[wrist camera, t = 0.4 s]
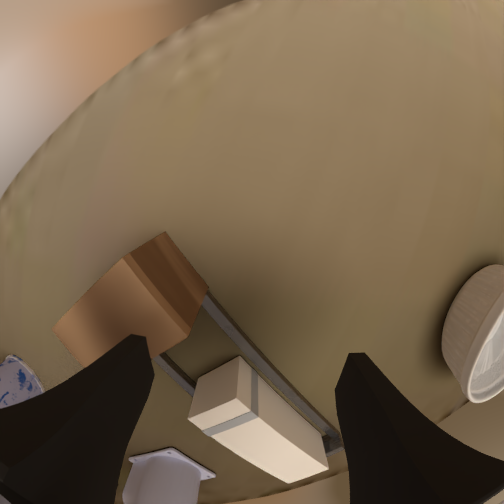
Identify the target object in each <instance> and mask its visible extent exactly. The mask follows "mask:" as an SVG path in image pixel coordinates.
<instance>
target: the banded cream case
mask: <svg viewBox="0 0 504 504" xmlns="http://www.w3.org/2000/svg"><path fill="white" fill-rule="evenodd" d="M188 420H190V421H191V422H192V423H193V424H195V425H196V426H197V427H199V428H200V429H201V430H202V432H203V433H205V434H206V435H207V436H211V437H212V438H214V439H215V440H217V441H218V442H219V443H221V444H222V445H224V446H225V447H227V448H228V449H230V450H231V451H233V452H234V453H236V454H237V455H239V456H241V457H242V458H244V459H245V460H247V461H249V462H250V463H252V464H254V465H255V466H257V467H259V468H260V469H262V470H264V471H266V472H268V473H269V474H271V475H273V476H275V477H277V478H279V479H281V480H282V481H284V482H286V483H291V482H294V481H297V480H300V479H303V478H306V477H309V476H312V475H314V474H317V473H319V472H322V471H325V470H327V469H329V467H328V463H327V458H326V454H325V450H324V445H323V441H322V437H321V433H320V432H319V431H318V430H316V429H315V428H314V427H313V426H312V425H311V424H310V423H308V422H307V421H306V420H305V419H304V418H303V417H302V416H301V415H300V414H299V413H297V412H296V411H295V410H294V409H293V408H292V407H291V406H290V405H289V404H288V403H287V402H286V401H285V400H284V399H283V398H282V397H280V396H279V395H278V394H277V393H276V392H275V391H274V390H273V389H272V388H271V387H270V386H269V385H268V384H267V383H266V382H265V381H264V380H263V379H262V378H261V377H260V376H259V375H258V373H257V372H256V371H255V370H254V369H253V368H251V367H250V366H249V365H248V364H247V363H246V361H245V360H244V359H243V358H242V357H241V356H238V357H236V358H234V359H233V360H231V361H229V362H227V363H225V364H223V365H222V366H220V367H218V368H216V369H214V370H212V371H210V372H209V373H207V374H205V375H203V376H201V377H199V378H198V381H197V385H196V389H195V392H194V396H193V400H192V404H191V408H190V411H189V415H188Z"/></svg>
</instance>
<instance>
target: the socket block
mask: <svg viewBox="0 0 504 504" xmlns="http://www.w3.org/2000/svg"><path fill="white" fill-rule="evenodd" d="M208 288H209V287H208V286H207V284H206V283H205V282H204V281H203V279H202V278H201V277H200V276H199V274H198V273H197V272H196V271H195V269H194V268H193V267H192V266H191V264H190V263H189V262H188V261H187V259H186V258H185V257H184V256H183V254H182V253H181V252H180V250H179V249H178V248H177V246H176V245H175V244H174V243H173V241H172V240H171V239H170V237H169V236H168V235H167V233H166V232H164V233H162V234H160V235H159V236H157V237H155V238H154V239H152V240H150V241H149V242H147V243H145V244H144V245H142V246H140V247H139V248H137V249H135V250H134V251H132V252H130V253H129V254H127V255H125V256H124V257H122V258H121V259H120V260H119V261H118V262H117V263H116V264H115V265H114V266H113V267H112V268H110V269H109V270H108V271H107V272H106V273H105V274H104V275H103V276H102V277H101V278H100V279H99V280H98V281H97V282H96V283H95V284H94V285H93V286H92V287H91V288H90V289H89V290H88V291H87V292H86V293H85V294H84V295H83V296H82V297H81V298H80V299H79V300H78V301H77V302H76V303H75V304H74V305H73V306H72V307H71V308H70V309H69V310H68V312H67V313H66V314H65V315H64V316H63V317H62V318H61V319H60V320H59V321H58V322H57V323H56V325H55V326H54V327H53V328H52V330H53V332H54V333H55V334H56V335H57V337H58V338H59V339H60V340H61V342H62V343H63V344H64V345H65V346H66V348H67V349H68V350H69V351H70V352H71V354H72V355H73V356H74V357H75V358H76V359H77V360H78V362H79V363H80V364H81V365H82V366H83V367H84V368H86V367H87V366H89V365H90V364H91V363H93V362H94V361H95V360H97V359H98V358H99V357H101V356H102V355H104V354H105V353H106V352H107V351H109V350H110V349H111V348H113V347H114V346H115V345H117V344H118V343H119V342H121V341H122V340H123V339H125V338H126V337H127V336H129V335H130V334H135V335H140V336H146V340H147V345H148V349H149V354H150V358H151V359H153V358H154V357H156V356H158V355H159V354H161V353H163V352H164V351H166V350H168V349H169V348H171V347H173V346H174V345H176V344H178V343H179V342H181V341H182V340H184V339H186V338H187V337H188V336H189V334H190V331H191V329H192V326H193V324H194V321H195V319H196V316H197V314H198V312H199V309H200V307H201V304H202V302H203V300H204V297H205V295H206V292H207V290H208Z"/></svg>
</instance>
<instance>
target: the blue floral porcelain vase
mask: <svg viewBox="0 0 504 504" xmlns="http://www.w3.org/2000/svg"><path fill="white" fill-rule="evenodd" d="M44 392H45V390H44V387H43V385H42V383H41V382H40V380H39V378H38V377H37V376H36V374H35V373H34V371H33V370H32V369H31V368H30V367H29V366H28V365H27V364H26V363H25V362H24V361H23V360H22V359H20V358H19V357H17V356H15V355H12V354H10V355H8V356H7V357H6V359H5V361H3V362H2V363H1V364H0V408H4V407H8V406H11V405H14V404H17V403H20V402H23V401H25V400H28V399H30V398H33V397H35V396H37V395H40V394H42V393H44Z"/></svg>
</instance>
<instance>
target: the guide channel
mask: <svg viewBox="0 0 504 504" xmlns="http://www.w3.org/2000/svg"><path fill="white" fill-rule="evenodd" d="M201 305H202V306H203V307H204V309H205V310H206V311H207V312H208V313H209V314H210V316H211V317H212V318H213V319H214V320H215V321H216V322H217V324H218V325H219V326H220V327H221V328H222V329H223V330H224V332H225V333H226V334H227V335H228V336H229V337H230V338H231V339H232V340H233V341H234V343H235V344H236V345H237V346H238V347H239V348H240V349H241V350H242V351H243V352H244V353H245V354H246V356H247V357H248V358H249V359H250V360H251V361H252V362H253V363H254V364H255V365H256V366H257V367H258V368H259V369H260V370H261V371H262V372H263V373H264V374H265V375H266V376H267V377H268V378H269V379H270V380H271V381H272V382H273V383H274V384H275V385H276V386H277V387H278V388H279V389H280V390H281V391H282V392H283V393H284V394H285V395H286V396H287V397H288V398H289V399H290V400H291V401H292V402H293V403H294V404H295V405H296V406H297V407H298V408H299V409H300V410H301V411H302V412H303V413H304V414H306V415H307V416H308V417H309V418H310V419H311V420H312V421H313V422H314V423H315V424H316V425H318V426H319V427H320V428H321V429H322V430H323V431H324V432H325V433H326V434H328V435H326V436H324V437H322V441H323V445H324V450H325V454H326V457H329V456H331V455H333V454H335V453H337V452H340V451H342V450H344V449H345V448H344V445H343V441H342V438H341V435H340V432H339V431H338V430H337V429H336V428H334V427H333V426H332V425H331V424H330V423H329V422H328V421H327V420H326V419H325V418H324V417H323V416H322V415H321V414H320V413H319V412H318V411H317V410H316V409H315V408H314V407H313V406H312V405H311V404H310V403H309V402H308V401H307V400H306V399H305V398H304V397H303V396H302V395H301V394H300V393H299V392H298V391H297V390H296V389H295V388H294V387H293V386H292V384H291V383H290V382H289V381H288V380H287V379H286V378H285V377H284V376H283V375H282V374H281V373H280V372H279V371H278V370H277V369H276V368H275V366H274V365H273V364H272V363H271V362H270V361H269V360H268V359H267V358H266V357H265V356H264V354H263V353H262V352H261V351H260V350H259V349H258V348H257V347H256V346H255V344H254V343H253V342H252V341H251V340H250V339H249V338H248V337H247V335H246V334H245V333H244V332H243V331H242V330H241V329H240V327H239V326H238V325H237V324H236V323H235V322H234V321H233V319H232V318H231V317H230V316H229V315H228V314H227V312H226V311H225V310H224V309H223V308H222V306H221V305H220V304H219V303H218V302H217V301H216V299H215V298H214V297H213V296H212V295H211V293H210V292H209V291H208V290H207V292H206V295H205V297H204V300H203V302H202V304H201ZM153 360H154V361H155V362H156V363H157V364H158V365H159V366H160V367H161V368H162V369H163V370H164V371H165V372H166V373H167V374H168V375H170V376H171V377H172V378H173V379H174V380H175V381H176V382H177V383H178V384H179V385H180V386H181V387H182V388H183V389H185V390H186V391H187V392H188V393H189V394H190V395H191V396H192V397H193V396H194V392H195V389H196V385H197V384H196V383H195V382H194V381H193V380H192V379H191V378H189V377H188V376H187V375H186V374H185V373H184V372H183V371H182V370H181V369H180V368H179V367H178V366H177V365H176V364H175V363H174V362H173V361H172V360H171V359H170V358H169V357H168V356H167V355H166V354H165V353H164V352H163V353H161V354H159V355H158V356H156V357H154V358H153Z"/></svg>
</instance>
